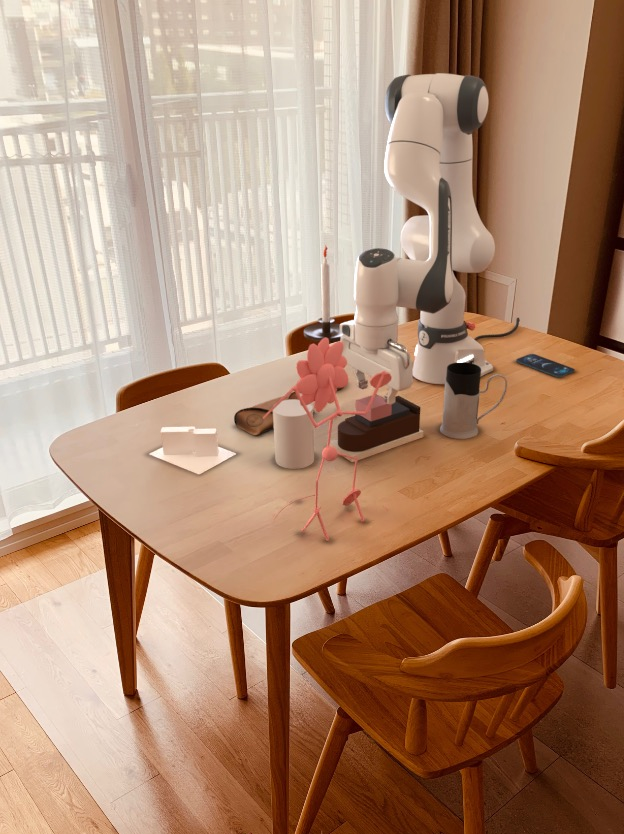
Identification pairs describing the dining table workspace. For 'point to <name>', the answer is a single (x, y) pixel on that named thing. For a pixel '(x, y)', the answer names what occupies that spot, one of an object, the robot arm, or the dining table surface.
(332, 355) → the figurine
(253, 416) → the sunglasses case
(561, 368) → the smartphone
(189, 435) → the napkin holder
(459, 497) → the dining table surface
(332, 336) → the candlestick
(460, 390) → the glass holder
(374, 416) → the two-tone stepped block
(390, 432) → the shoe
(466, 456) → the dining table surface
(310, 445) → the cup
